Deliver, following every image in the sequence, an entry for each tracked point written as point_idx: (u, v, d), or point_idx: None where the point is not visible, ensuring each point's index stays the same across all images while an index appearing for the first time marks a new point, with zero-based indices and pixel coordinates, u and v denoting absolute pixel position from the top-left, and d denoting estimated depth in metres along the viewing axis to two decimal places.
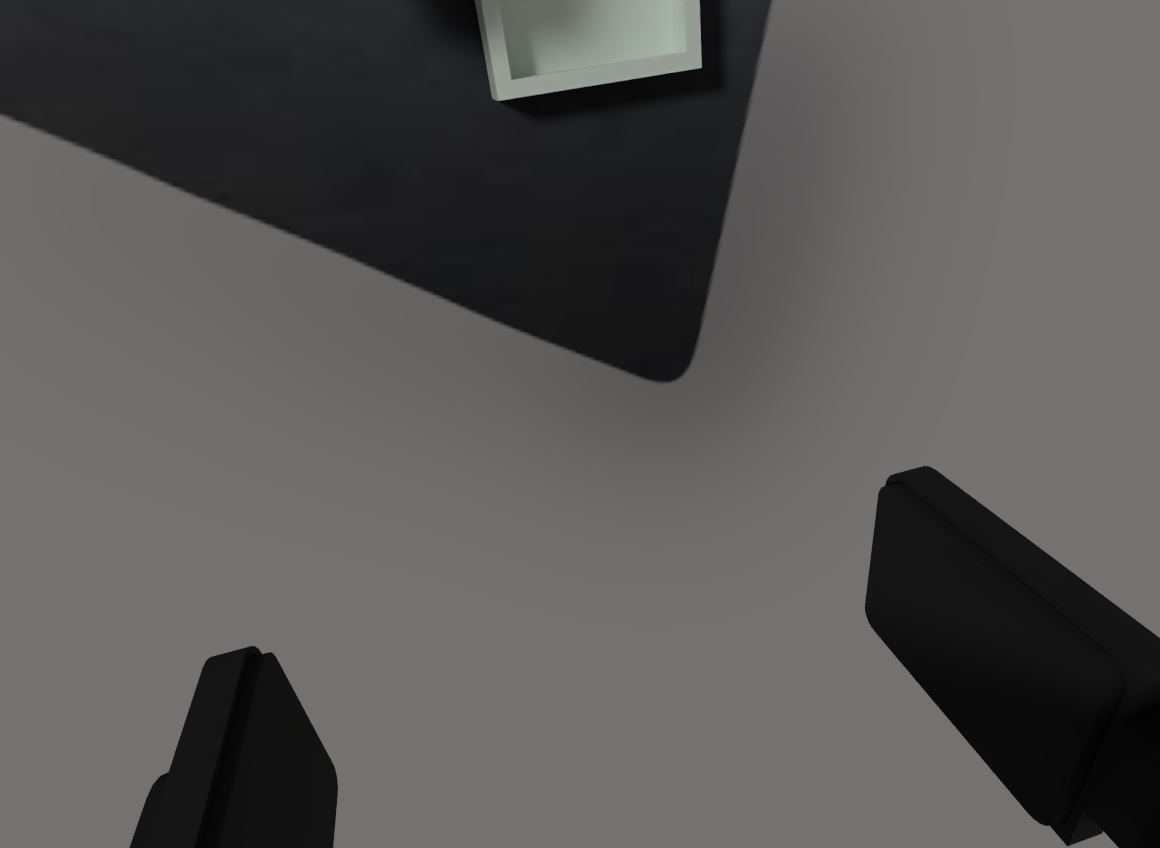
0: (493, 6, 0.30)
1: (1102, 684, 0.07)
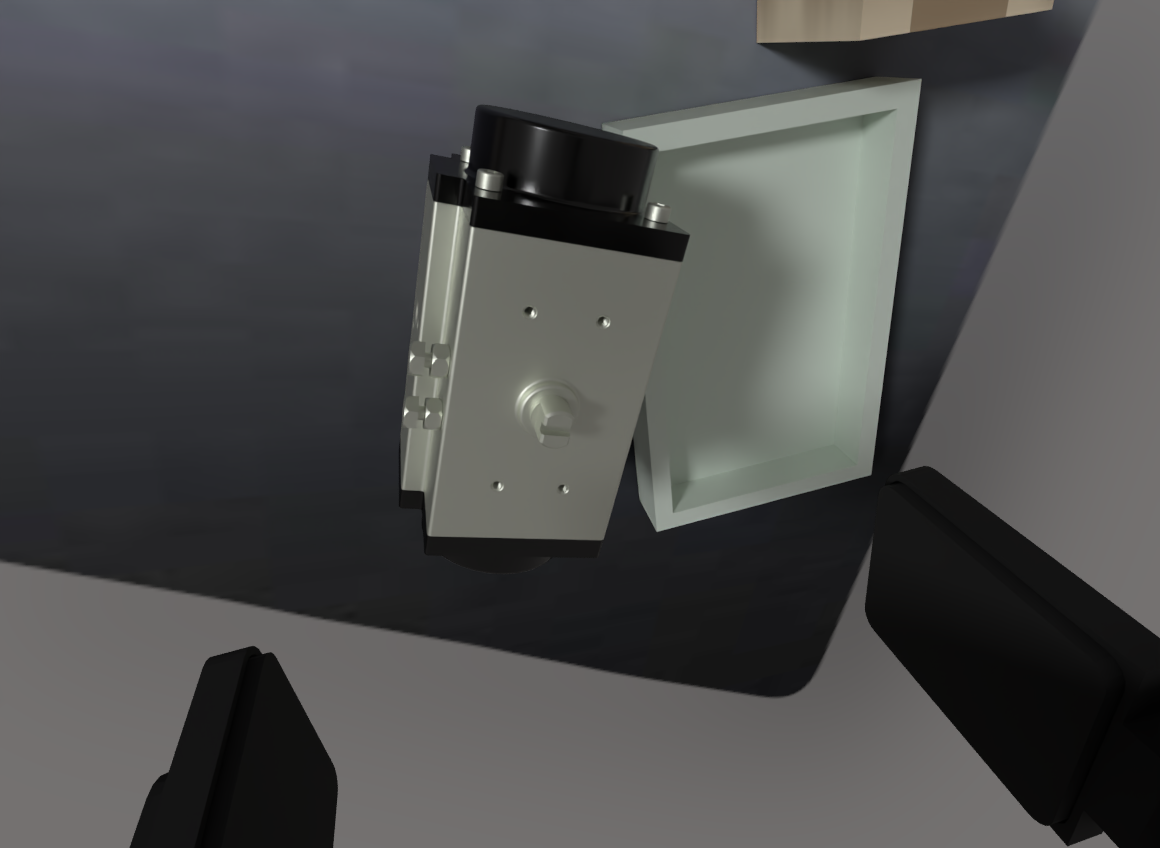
0: (662, 457, 0.27)
1: (1102, 684, 0.07)
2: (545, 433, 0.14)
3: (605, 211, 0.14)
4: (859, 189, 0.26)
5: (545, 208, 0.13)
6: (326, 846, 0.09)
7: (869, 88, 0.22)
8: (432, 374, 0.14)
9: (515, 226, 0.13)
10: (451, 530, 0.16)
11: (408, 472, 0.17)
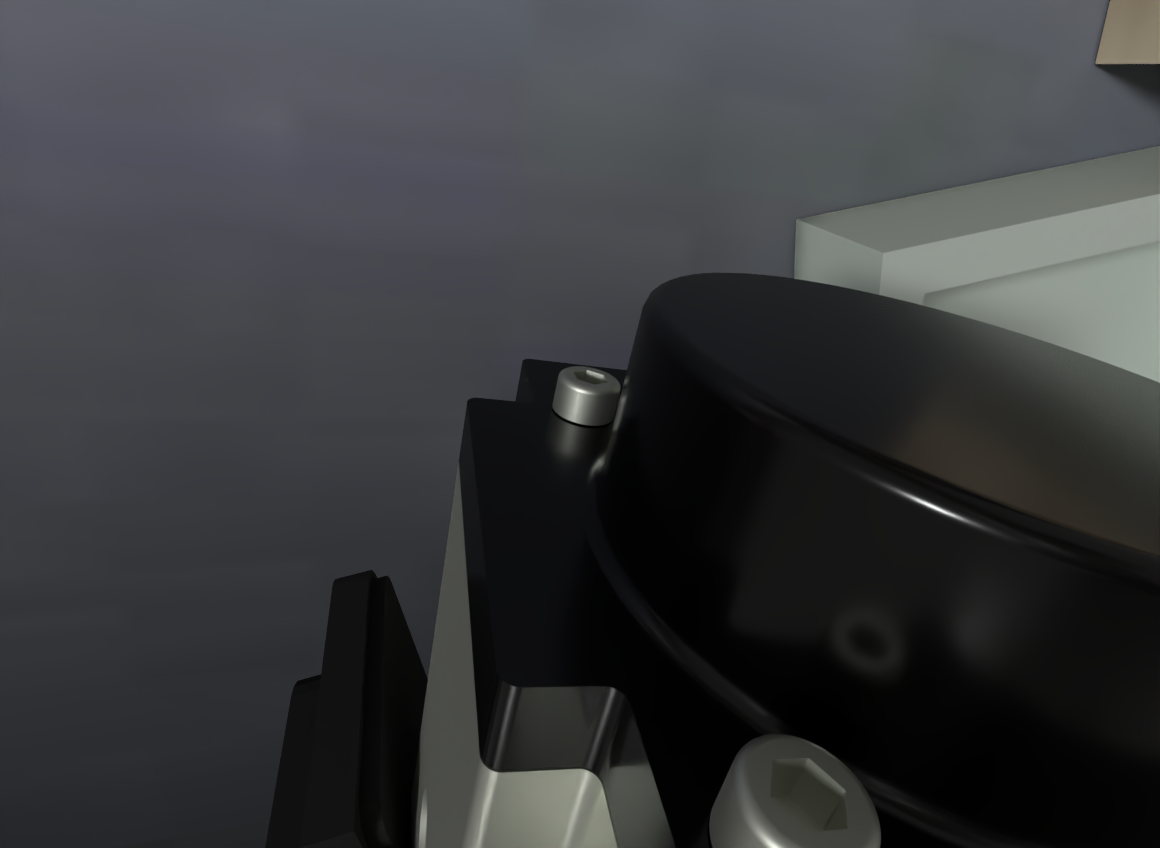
0: None
1: None
2: None
3: None
4: None
5: None
6: None
7: None
8: None
9: None
10: None
11: None
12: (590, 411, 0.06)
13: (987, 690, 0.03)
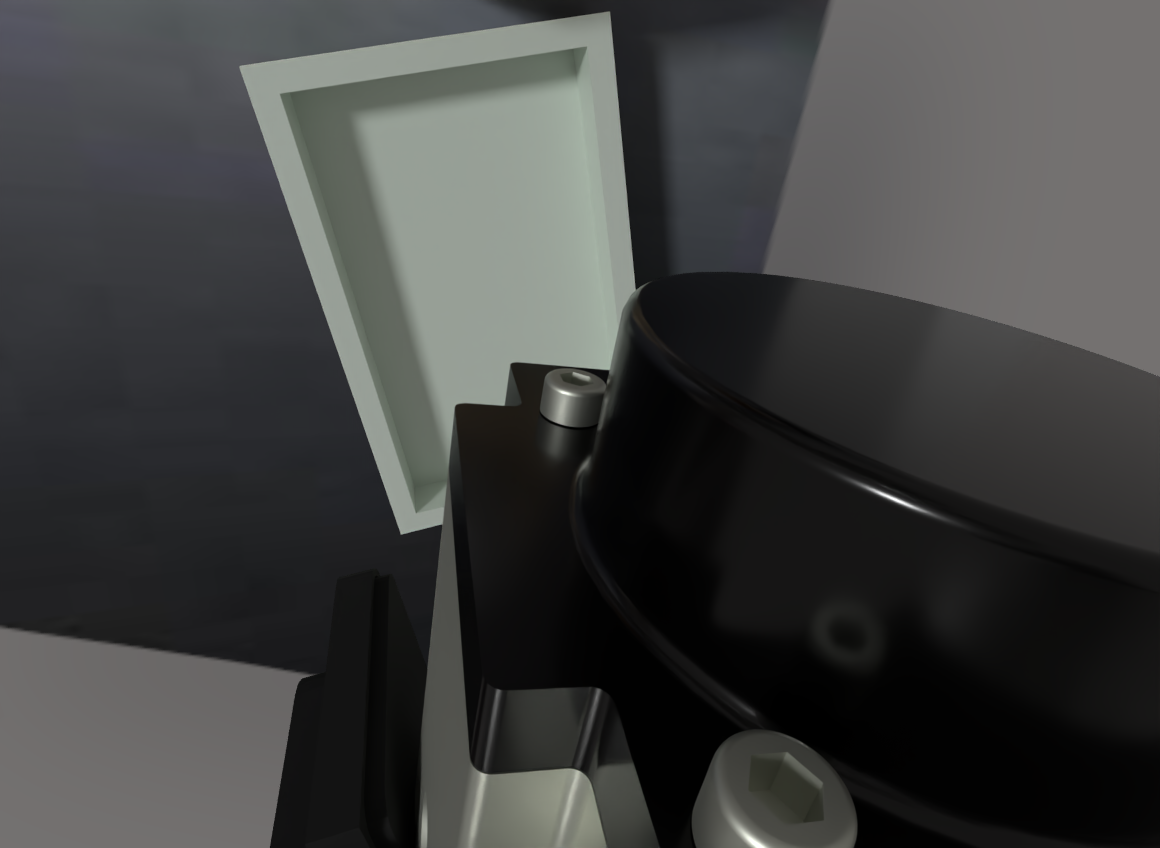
0: (387, 450, 0.24)
1: None
2: None
3: None
4: (585, 146, 0.23)
5: None
6: None
7: (546, 21, 0.19)
8: None
9: None
10: None
11: None
12: (577, 413, 0.06)
13: (960, 680, 0.03)
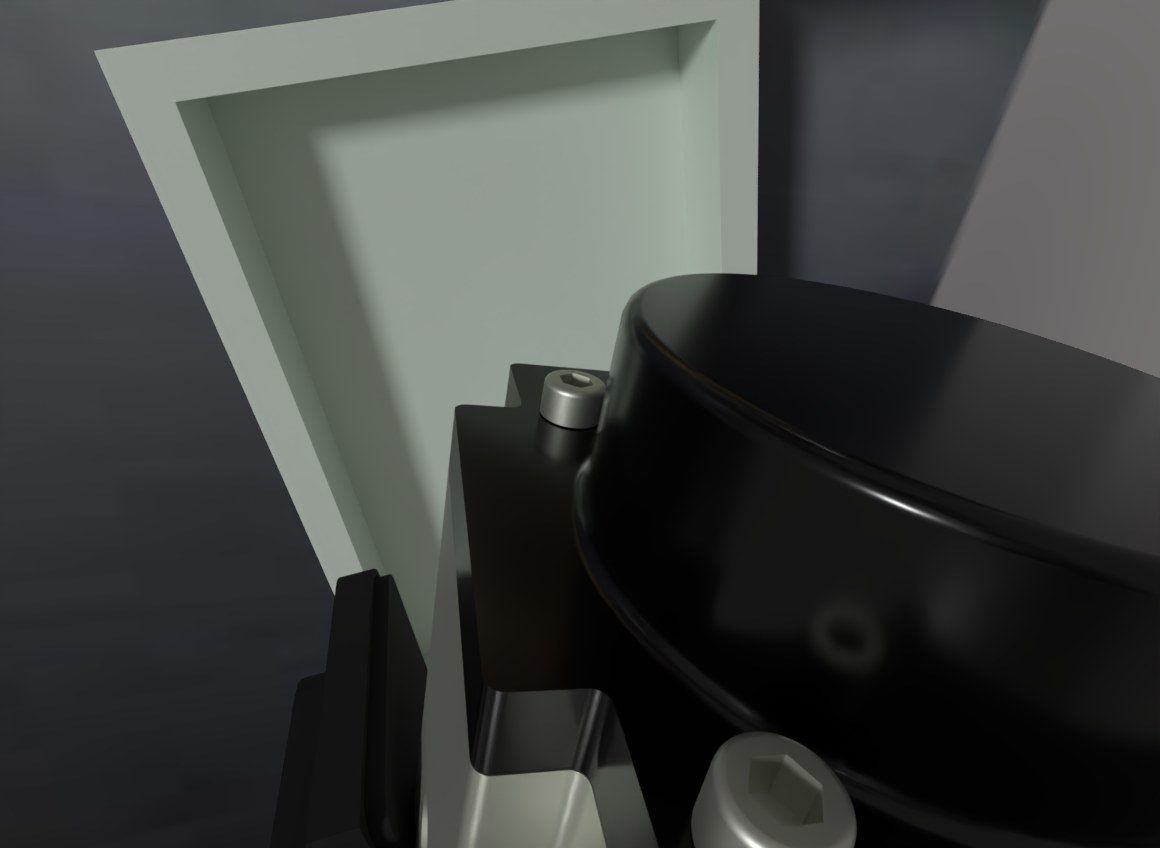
0: None
1: None
2: None
3: None
4: (687, 181, 0.14)
5: None
6: None
7: None
8: None
9: None
10: None
11: None
12: (577, 414, 0.06)
13: (960, 682, 0.03)
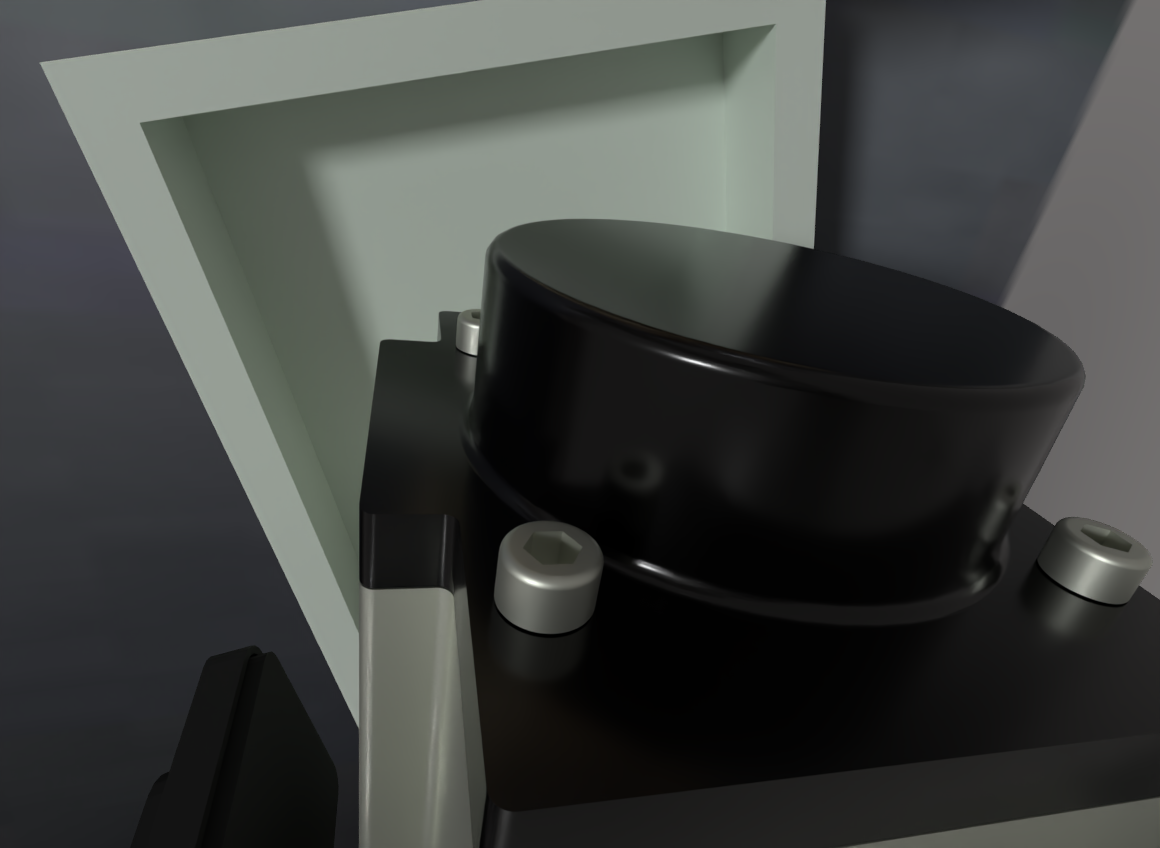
0: None
1: None
2: None
3: (953, 604, 0.04)
4: (729, 206, 0.13)
5: (812, 765, 0.03)
6: (326, 846, 0.09)
7: None
8: None
9: None
10: None
11: None
12: None
13: (687, 475, 0.04)
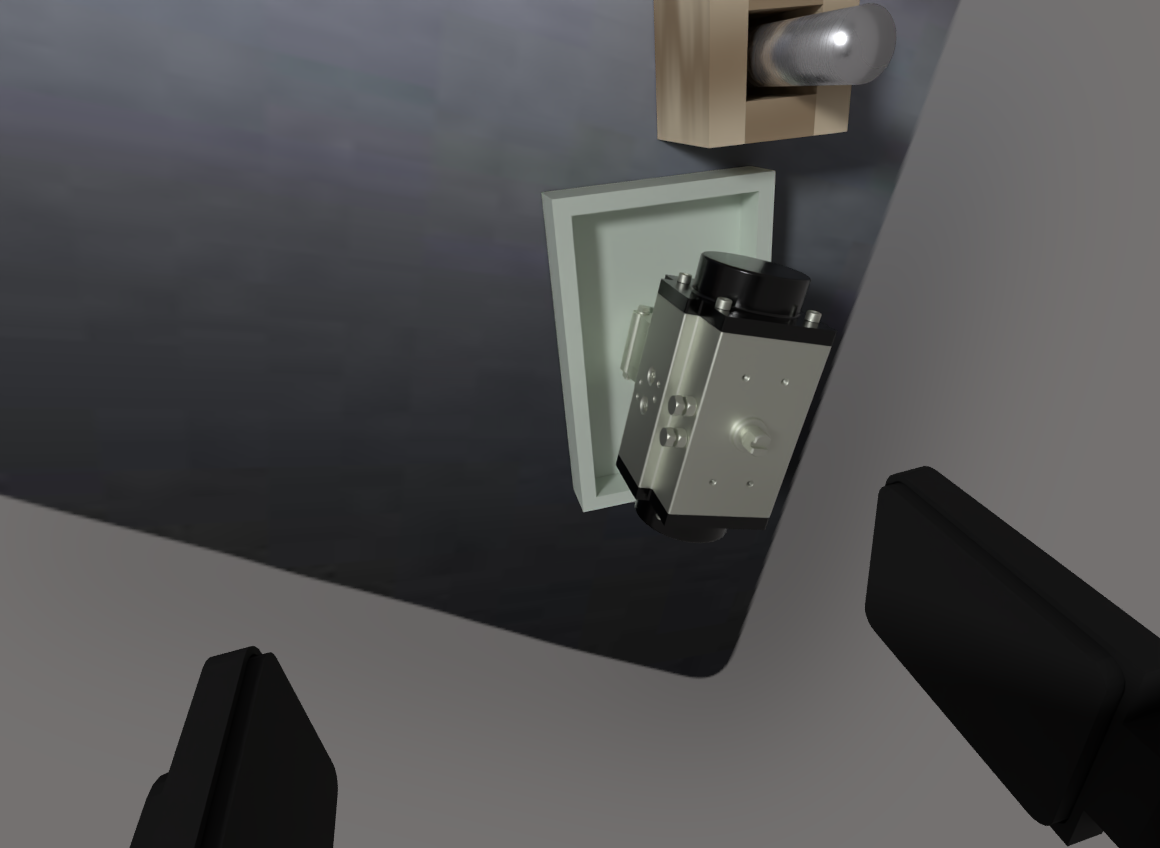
0: (587, 449, 0.35)
1: (1102, 684, 0.07)
2: (753, 447, 0.24)
3: (785, 317, 0.25)
4: (740, 248, 0.33)
5: (761, 320, 0.23)
6: (326, 846, 0.09)
7: (736, 176, 0.30)
8: (686, 414, 0.25)
9: (744, 331, 0.23)
10: (682, 510, 0.26)
11: (645, 476, 0.28)
12: (686, 280, 0.27)
13: (744, 290, 0.24)
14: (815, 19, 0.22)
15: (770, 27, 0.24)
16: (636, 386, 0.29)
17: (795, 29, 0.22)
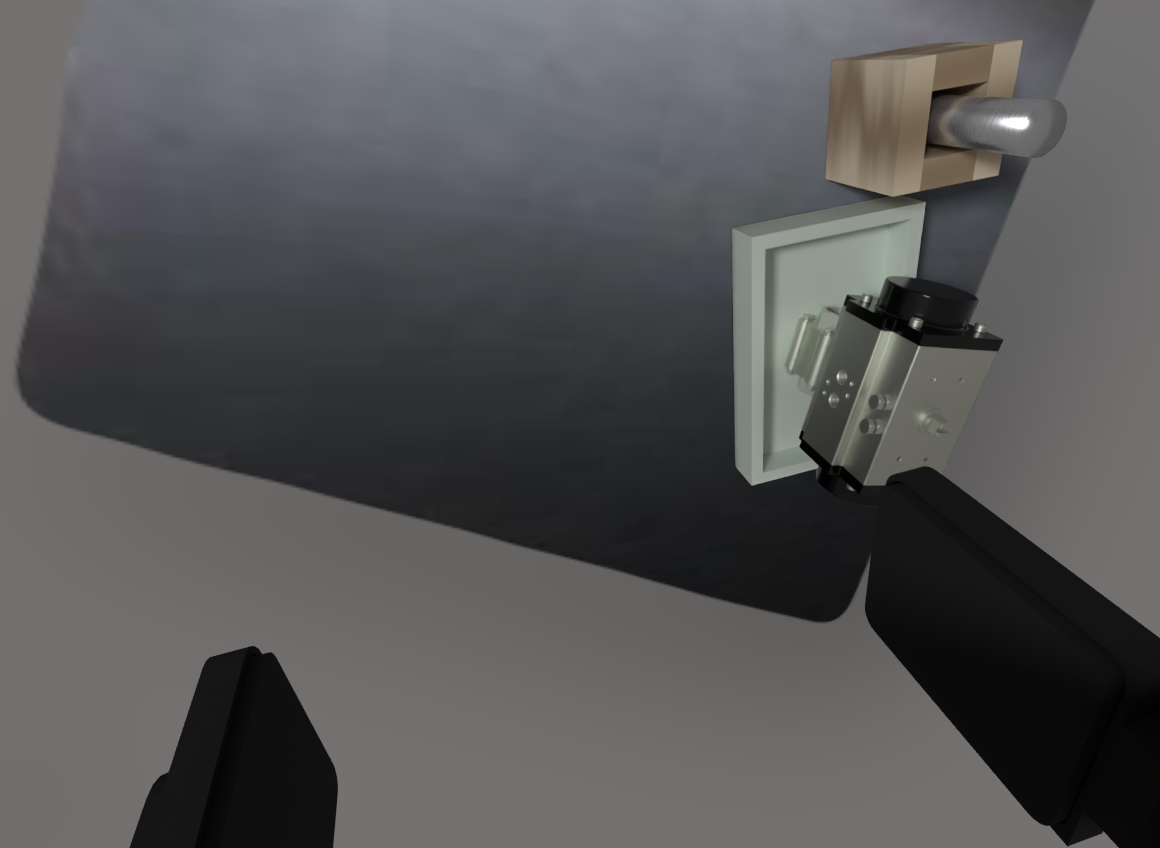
0: (759, 434, 0.42)
1: (1101, 684, 0.07)
2: (938, 432, 0.32)
3: (961, 330, 0.32)
4: (886, 262, 0.40)
5: (948, 335, 0.31)
6: (326, 846, 0.09)
7: (894, 208, 0.37)
8: (885, 408, 0.32)
9: (936, 344, 0.31)
10: (874, 482, 0.34)
11: (837, 456, 0.35)
12: (869, 300, 0.34)
13: (931, 311, 0.31)
14: (998, 106, 0.28)
15: (947, 102, 0.31)
16: (822, 384, 0.36)
17: (978, 110, 0.29)
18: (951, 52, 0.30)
